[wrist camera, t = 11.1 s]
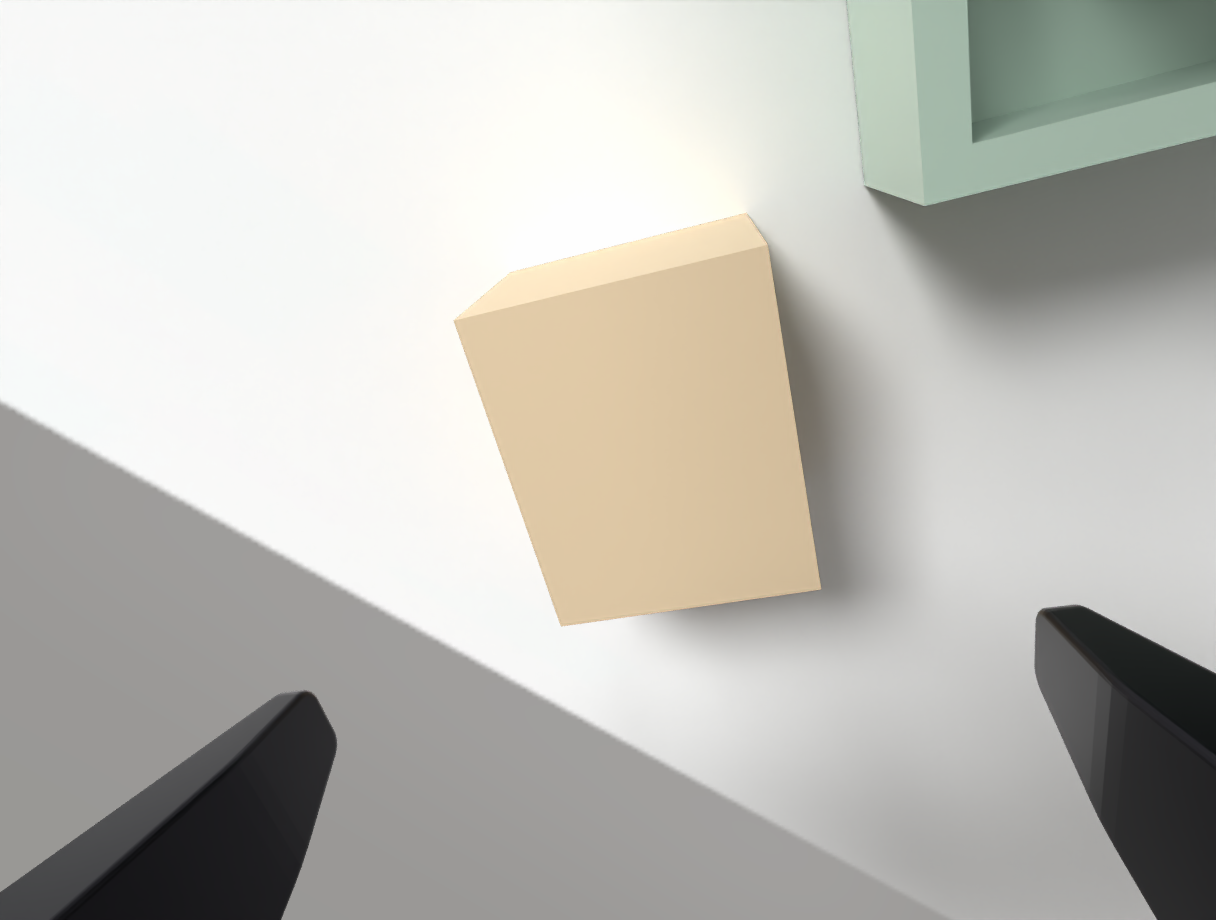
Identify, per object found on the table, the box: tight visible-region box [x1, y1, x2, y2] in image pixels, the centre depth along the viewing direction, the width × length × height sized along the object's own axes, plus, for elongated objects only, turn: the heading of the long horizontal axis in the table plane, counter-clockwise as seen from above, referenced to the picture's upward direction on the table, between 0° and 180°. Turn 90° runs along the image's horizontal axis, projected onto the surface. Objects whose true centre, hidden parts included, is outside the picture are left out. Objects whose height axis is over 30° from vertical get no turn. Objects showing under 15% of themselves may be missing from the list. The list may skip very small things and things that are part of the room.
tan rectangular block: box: [454, 213, 821, 626], centre depth 16 cm, size 8×6×5 cm
